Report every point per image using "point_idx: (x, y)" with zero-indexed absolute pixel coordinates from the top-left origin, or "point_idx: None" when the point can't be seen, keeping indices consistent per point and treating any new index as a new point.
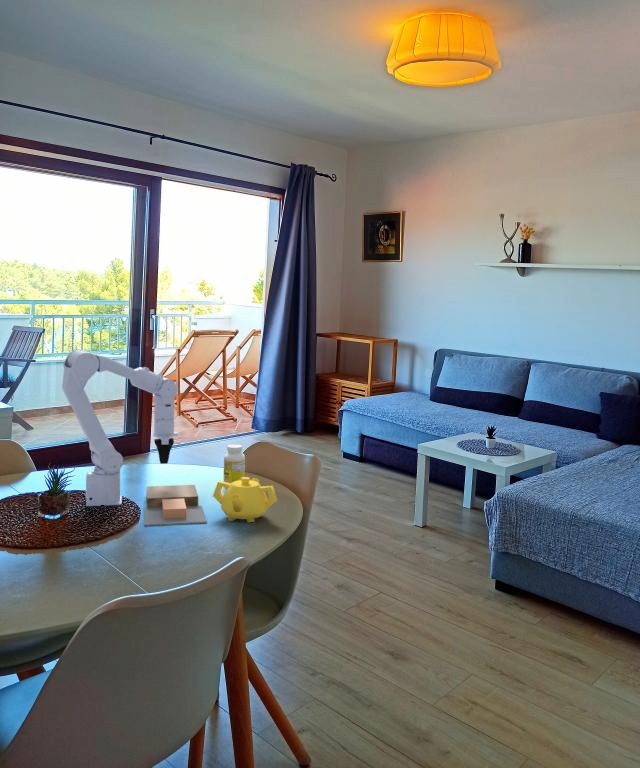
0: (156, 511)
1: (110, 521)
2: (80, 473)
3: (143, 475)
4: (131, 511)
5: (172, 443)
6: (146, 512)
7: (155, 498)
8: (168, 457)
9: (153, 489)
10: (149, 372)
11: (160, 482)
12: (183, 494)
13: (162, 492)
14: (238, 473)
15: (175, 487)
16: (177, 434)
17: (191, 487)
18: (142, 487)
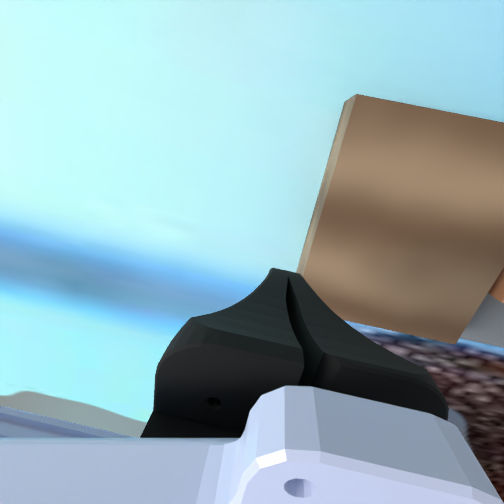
0: (500, 309)
1: (484, 419)
2: (11, 383)
3: (25, 235)
4: (430, 361)
5: (436, 390)
6: (489, 337)
7: (469, 319)
8: (313, 292)
9: (347, 297)
10: None
11: (124, 200)
12: (498, 203)
13: (408, 278)
14: None
15: (359, 207)
16: (478, 462)
17: (399, 128)
18: (180, 274)
